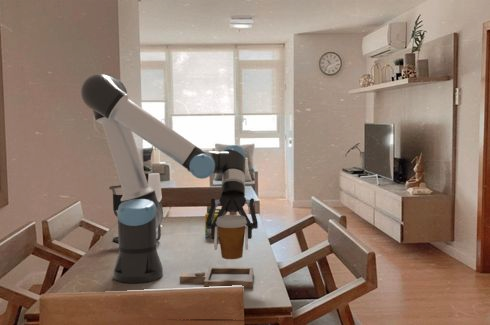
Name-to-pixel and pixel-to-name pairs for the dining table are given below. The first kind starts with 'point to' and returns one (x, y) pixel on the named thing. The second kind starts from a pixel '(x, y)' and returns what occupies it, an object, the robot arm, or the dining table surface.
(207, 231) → the crayon box
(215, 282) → the tray
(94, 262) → the dining table surface
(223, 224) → the disposable coffee cup
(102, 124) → the robot arm
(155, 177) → the champagne flute
